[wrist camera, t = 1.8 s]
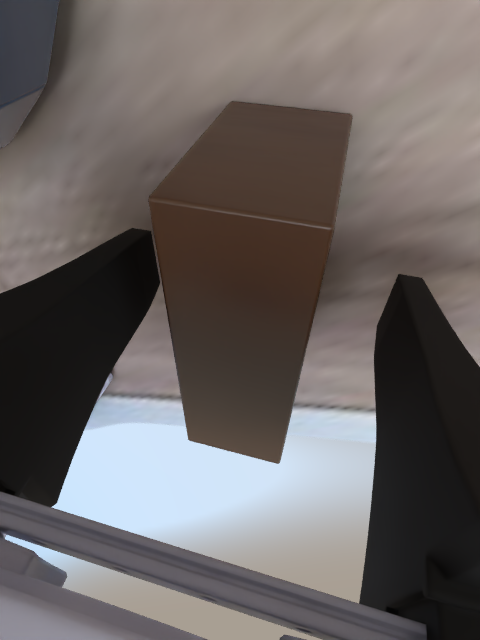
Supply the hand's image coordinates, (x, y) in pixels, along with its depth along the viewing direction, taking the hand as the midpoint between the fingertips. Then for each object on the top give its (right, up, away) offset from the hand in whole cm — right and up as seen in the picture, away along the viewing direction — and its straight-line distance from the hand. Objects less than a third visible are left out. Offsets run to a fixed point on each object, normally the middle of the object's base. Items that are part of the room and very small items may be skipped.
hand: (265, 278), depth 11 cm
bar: (0, +1, +1) cm, 1 cm away
